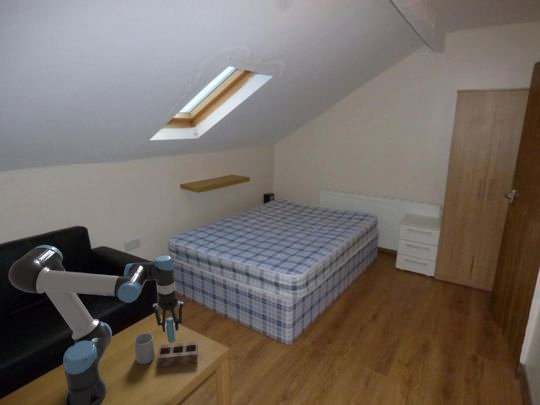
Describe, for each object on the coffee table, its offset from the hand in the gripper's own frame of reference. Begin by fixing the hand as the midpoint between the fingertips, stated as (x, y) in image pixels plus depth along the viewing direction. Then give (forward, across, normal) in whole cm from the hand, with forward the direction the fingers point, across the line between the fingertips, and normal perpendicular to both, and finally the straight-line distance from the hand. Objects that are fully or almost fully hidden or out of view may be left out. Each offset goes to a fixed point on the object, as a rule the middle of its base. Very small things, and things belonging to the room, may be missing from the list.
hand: (171, 336), depth 152 cm
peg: (+2, 0, 0) cm, 2 cm away
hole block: (+18, +1, +7) cm, 19 cm away
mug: (+17, -15, +10) cm, 25 cm away
